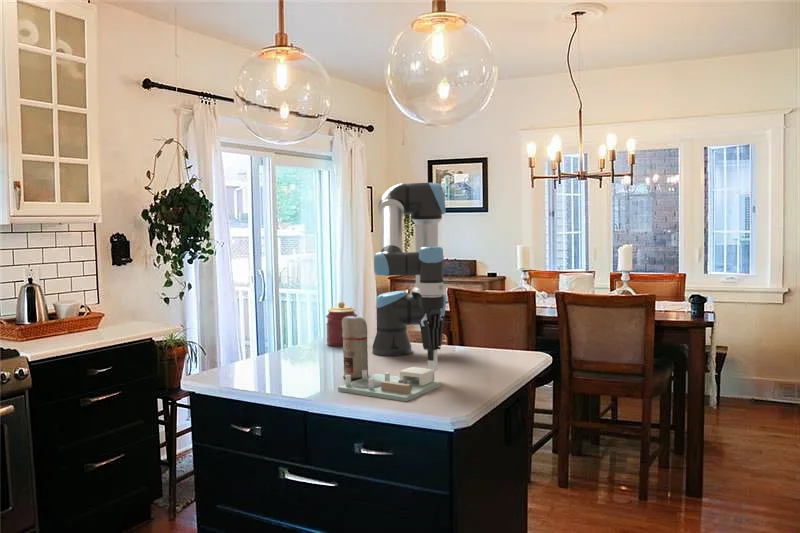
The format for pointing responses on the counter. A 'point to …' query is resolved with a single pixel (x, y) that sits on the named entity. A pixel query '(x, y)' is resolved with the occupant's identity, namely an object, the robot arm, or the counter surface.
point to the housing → (417, 375)
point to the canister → (337, 323)
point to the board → (391, 394)
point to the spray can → (354, 346)
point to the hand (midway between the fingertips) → (432, 370)
